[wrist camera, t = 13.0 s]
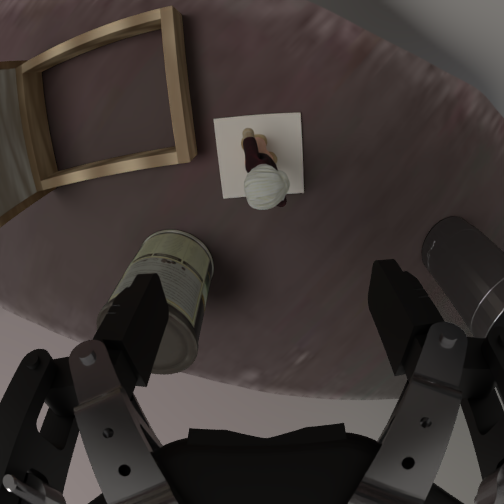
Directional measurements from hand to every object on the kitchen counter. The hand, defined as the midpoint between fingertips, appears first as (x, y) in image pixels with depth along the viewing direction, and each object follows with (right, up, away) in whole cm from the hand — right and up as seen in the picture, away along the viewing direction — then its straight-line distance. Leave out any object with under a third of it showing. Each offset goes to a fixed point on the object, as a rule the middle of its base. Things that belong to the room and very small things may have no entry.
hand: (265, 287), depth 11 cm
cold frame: (-17, +18, +17) cm, 30 cm away
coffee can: (-10, 0, +28) cm, 30 cm away
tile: (0, +12, +20) cm, 24 cm away
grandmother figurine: (+1, +11, +20) cm, 23 cm away
